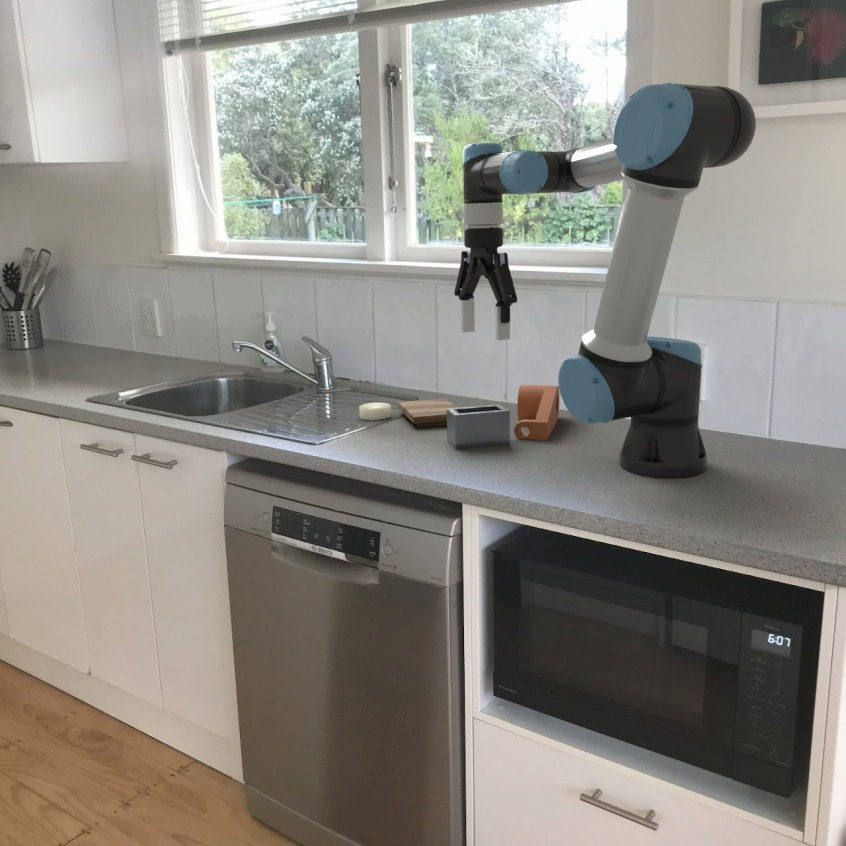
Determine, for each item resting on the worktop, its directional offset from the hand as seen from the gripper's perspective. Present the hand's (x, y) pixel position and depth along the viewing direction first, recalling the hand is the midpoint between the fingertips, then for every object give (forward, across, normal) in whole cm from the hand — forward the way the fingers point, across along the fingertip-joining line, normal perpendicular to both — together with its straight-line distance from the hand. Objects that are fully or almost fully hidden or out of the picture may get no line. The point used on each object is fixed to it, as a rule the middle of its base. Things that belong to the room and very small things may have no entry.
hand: (485, 335), depth 183 cm
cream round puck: (+20, +25, +14) cm, 35 cm away
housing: (+20, -5, +5) cm, 22 cm away
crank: (+21, 0, -12) cm, 24 cm away
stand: (+20, +17, +4) cm, 27 cm away
